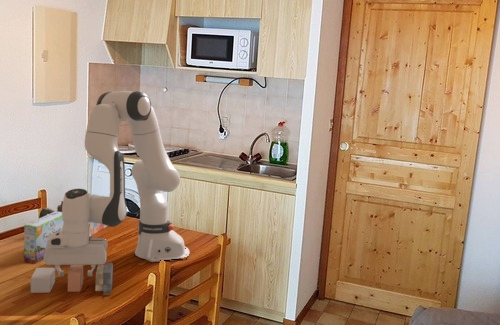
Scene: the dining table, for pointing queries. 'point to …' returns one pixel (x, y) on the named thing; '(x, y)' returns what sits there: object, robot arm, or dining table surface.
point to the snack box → (40, 235)
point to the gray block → (42, 280)
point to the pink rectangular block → (75, 278)
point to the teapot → (50, 210)
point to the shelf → (104, 278)
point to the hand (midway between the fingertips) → (75, 275)
